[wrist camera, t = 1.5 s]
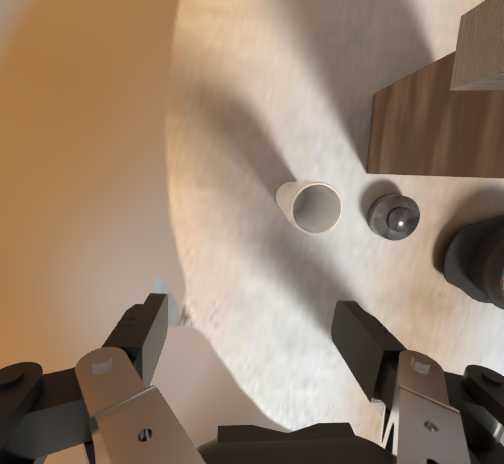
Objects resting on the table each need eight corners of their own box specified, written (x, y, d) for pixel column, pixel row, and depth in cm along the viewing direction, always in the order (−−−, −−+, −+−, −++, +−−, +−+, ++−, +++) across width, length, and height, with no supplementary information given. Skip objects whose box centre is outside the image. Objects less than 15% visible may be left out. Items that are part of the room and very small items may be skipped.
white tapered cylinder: (308, 213, 47) (343, 233, 33) (272, 216, 47) (290, 238, 32) (308, 175, 45) (344, 179, 31) (270, 179, 45) (288, 183, 31)
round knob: (416, 212, 49) (433, 216, 45) (387, 244, 50) (401, 251, 46) (388, 185, 47) (403, 187, 43) (358, 219, 48) (370, 223, 44)
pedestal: (446, 94, 44) (961, -84, 13) (435, 172, 47) (827, 178, 16) (373, 93, 43) (740, -99, 12) (366, 173, 46) (643, 183, 15)
